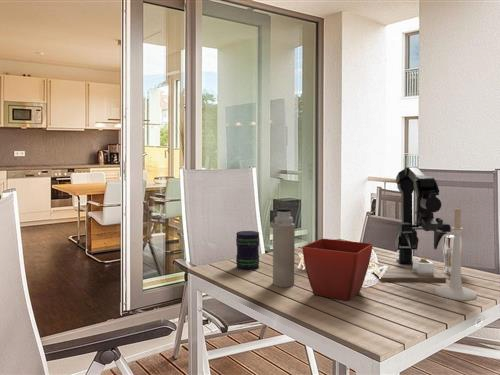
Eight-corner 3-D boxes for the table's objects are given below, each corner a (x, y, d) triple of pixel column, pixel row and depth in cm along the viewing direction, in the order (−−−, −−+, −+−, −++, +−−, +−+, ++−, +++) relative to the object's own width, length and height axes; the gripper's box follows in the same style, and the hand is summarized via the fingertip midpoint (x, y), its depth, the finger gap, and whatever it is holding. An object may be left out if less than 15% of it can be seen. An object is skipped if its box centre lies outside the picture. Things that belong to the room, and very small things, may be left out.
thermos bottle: (281, 279, 168) (282, 206, 166) (298, 283, 163) (299, 208, 161) (268, 283, 162) (268, 208, 161) (285, 288, 157) (285, 210, 155)
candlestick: (478, 292, 152) (481, 206, 150) (473, 302, 141) (476, 209, 139) (439, 286, 159) (441, 204, 157) (431, 295, 148) (433, 207, 146)
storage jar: (231, 267, 187) (231, 232, 186) (248, 263, 194) (248, 230, 193) (247, 271, 180) (246, 235, 179) (264, 267, 187) (264, 232, 186)
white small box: (412, 271, 175) (412, 259, 175) (427, 271, 175) (428, 260, 175) (417, 275, 169) (418, 263, 169) (433, 275, 169) (433, 263, 169)
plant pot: (372, 290, 155) (373, 243, 153) (356, 306, 138) (357, 253, 137) (321, 282, 164) (322, 238, 163) (300, 296, 148) (300, 246, 147)
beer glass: (457, 270, 182) (458, 234, 181) (463, 274, 175) (464, 237, 174) (439, 270, 183) (440, 234, 182) (445, 274, 176) (446, 237, 175)
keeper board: (372, 271, 180) (372, 255, 179) (431, 272, 179) (431, 255, 178) (381, 281, 166) (381, 263, 165) (445, 281, 165) (446, 263, 165)
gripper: (406, 211, 163) (405, 253, 164) (457, 211, 162) (456, 253, 163) (397, 208, 174) (396, 247, 175) (445, 208, 173) (444, 247, 174)
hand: (423, 249), depth 171 cm, fingers open, 9 cm apart
